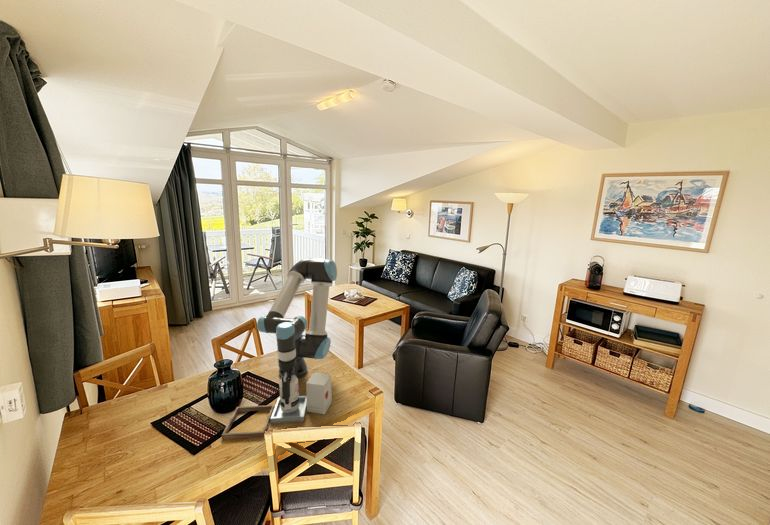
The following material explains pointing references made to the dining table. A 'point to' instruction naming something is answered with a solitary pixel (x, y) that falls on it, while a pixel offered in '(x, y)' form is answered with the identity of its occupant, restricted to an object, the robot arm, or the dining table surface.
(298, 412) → the tray
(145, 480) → the dining table surface
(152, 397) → the dining table surface
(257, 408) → the wooden frame
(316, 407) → the supplement box
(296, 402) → the supplement can
